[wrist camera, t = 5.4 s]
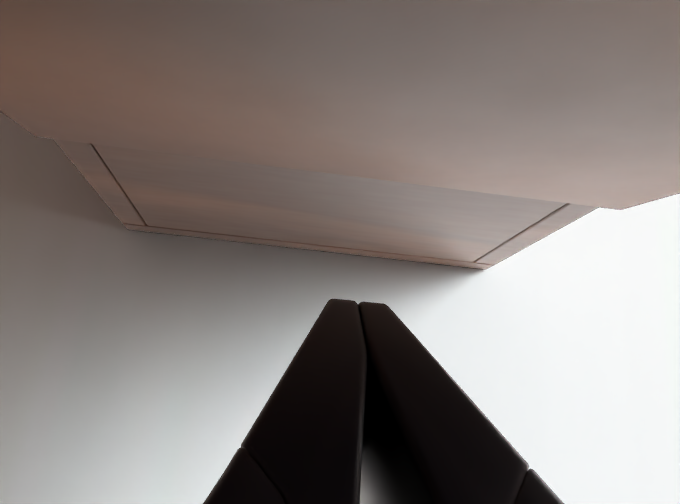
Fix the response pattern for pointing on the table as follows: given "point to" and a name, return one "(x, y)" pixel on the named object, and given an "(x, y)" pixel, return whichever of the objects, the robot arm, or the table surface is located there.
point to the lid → (366, 88)
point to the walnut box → (314, 208)
